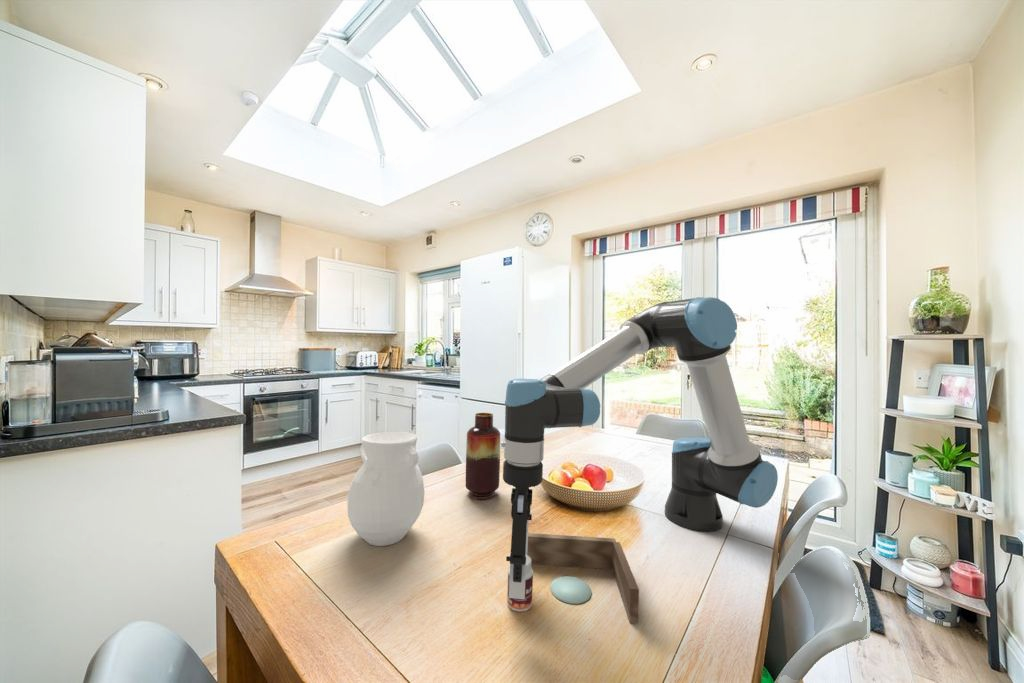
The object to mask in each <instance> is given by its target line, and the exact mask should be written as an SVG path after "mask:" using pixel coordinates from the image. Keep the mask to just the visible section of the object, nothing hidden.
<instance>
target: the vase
mask: <svg viewBox="0 0 1024 683" xmlns="http://www.w3.org/2000/svg"><path fill="white" fill-rule="evenodd" d="M465 445H466V447H465V448H466V449H465V450H466V452H465V454H466V455H465V488H466V489H467V491H468V497H469V498H471V499H473V500H479V501H483V500H484V501H487V500H491V499H493V498H495V496H497V492H496V491H497V490H498V489H499V488H500V473H501V472H500V471H501V470H500V469H501V432H500V430H499V429H498V428H496V427H495V426H494V414H493V413H491V412H478V413H475V415H474V426H472V427H470V428H469V429H468V430H467V432H466V444H465ZM486 499H487V500H486Z"/></svg>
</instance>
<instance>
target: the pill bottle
mask: <svg viewBox="0 0 1024 683" xmlns="http://www.w3.org/2000/svg"><path fill="white" fill-rule="evenodd" d="M525 556H526V577H525V599H515V598H509V578H510V567H509V568H508V571H507V599H506V600H507V601H506V603H507V606H508V607H509V609H510V610H513V611H515V612H520V613H521V612H526V611H528V610H529V609H531V607H532V605H533V582H534V581H533V580H534V571H533V568H532V564H531V558H530V557H529V556H528V555H525Z"/></svg>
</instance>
